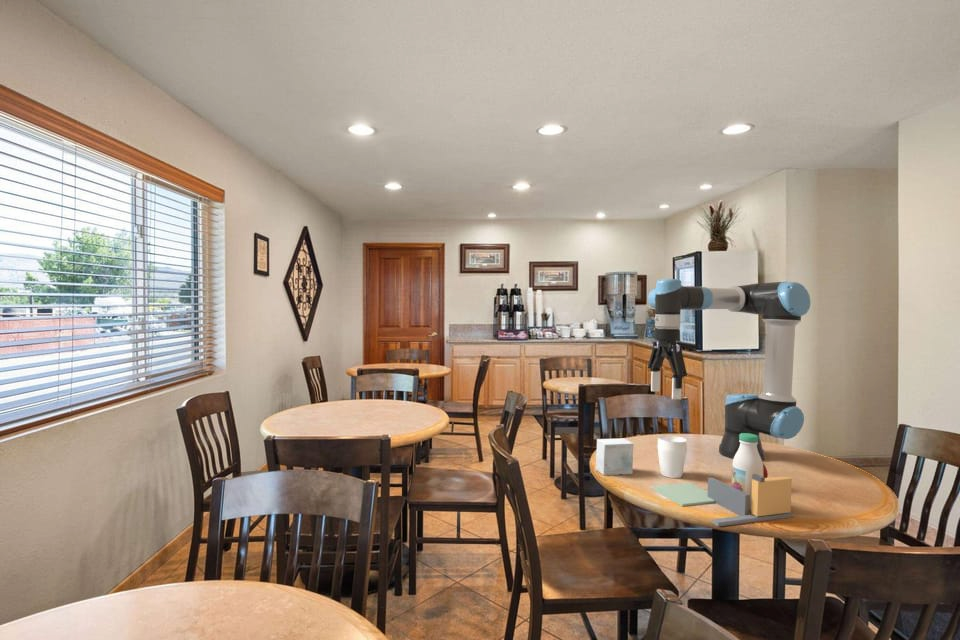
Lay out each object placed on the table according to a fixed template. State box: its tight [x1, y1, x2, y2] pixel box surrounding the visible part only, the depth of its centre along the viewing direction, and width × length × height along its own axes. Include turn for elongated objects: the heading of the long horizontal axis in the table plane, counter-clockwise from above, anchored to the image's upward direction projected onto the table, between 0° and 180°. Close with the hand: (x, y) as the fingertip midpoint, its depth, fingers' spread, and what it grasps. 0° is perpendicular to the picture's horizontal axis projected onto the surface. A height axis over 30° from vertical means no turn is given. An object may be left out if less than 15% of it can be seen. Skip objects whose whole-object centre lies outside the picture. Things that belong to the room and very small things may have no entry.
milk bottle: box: [731, 433, 764, 511], centre depth 137 cm, size 8×8×20 cm
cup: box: [657, 434, 688, 479], centre depth 162 cm, size 9×9×12 cm
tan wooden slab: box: [750, 474, 793, 516], centre depth 130 cm, size 11×3×10 cm, turn 106°
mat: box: [650, 482, 716, 507], centre depth 145 cm, size 14×14×1 cm
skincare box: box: [595, 437, 634, 476], centre depth 164 cm, size 10×6×10 cm, turn 102°
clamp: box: [707, 477, 794, 527], centre depth 135 cm, size 25×16×6 cm, turn 106°
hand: (665, 395), depth 156 cm, fingers open, 13 cm apart
